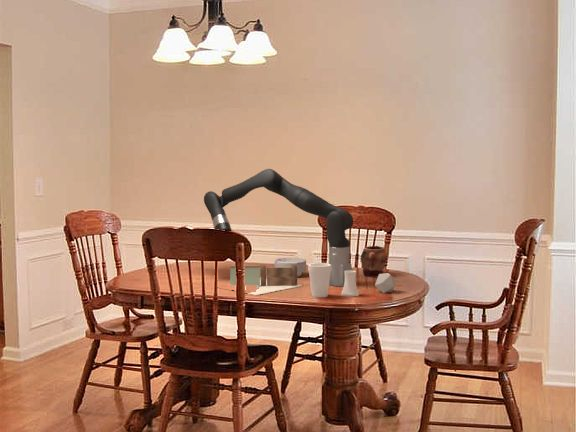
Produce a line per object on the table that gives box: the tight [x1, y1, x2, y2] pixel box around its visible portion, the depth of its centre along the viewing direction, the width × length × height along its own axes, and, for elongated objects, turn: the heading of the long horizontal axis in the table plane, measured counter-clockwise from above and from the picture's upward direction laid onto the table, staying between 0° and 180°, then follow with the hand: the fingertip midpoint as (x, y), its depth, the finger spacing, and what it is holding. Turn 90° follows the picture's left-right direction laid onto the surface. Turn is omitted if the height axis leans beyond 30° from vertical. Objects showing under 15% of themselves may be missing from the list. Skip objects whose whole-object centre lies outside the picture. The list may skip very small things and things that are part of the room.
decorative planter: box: [360, 245, 387, 278], centre depth 330 cm, size 20×12×14 cm, turn 168°
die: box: [374, 272, 398, 294], centre depth 293 cm, size 8×9×10 cm
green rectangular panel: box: [229, 264, 261, 285], centre depth 307 cm, size 13×2×9 cm, turn 90°
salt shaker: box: [340, 270, 360, 298], centre depth 287 cm, size 8×8×10 cm
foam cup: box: [307, 262, 331, 298], centre depth 286 cm, size 10×9×13 cm
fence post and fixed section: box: [260, 264, 298, 286], centre depth 307 cm, size 16×2×9 cm, turn 90°
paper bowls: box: [274, 257, 307, 278], centre depth 333 cm, size 15×15×8 cm
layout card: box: [245, 278, 304, 296], centre depth 306 cm, size 26×28×1 cm
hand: (231, 255), depth 319 cm, fingers closed
